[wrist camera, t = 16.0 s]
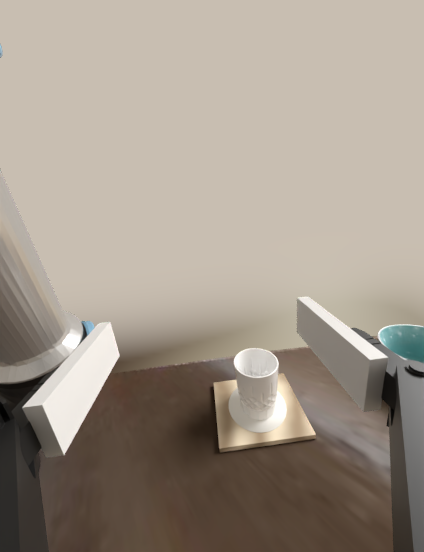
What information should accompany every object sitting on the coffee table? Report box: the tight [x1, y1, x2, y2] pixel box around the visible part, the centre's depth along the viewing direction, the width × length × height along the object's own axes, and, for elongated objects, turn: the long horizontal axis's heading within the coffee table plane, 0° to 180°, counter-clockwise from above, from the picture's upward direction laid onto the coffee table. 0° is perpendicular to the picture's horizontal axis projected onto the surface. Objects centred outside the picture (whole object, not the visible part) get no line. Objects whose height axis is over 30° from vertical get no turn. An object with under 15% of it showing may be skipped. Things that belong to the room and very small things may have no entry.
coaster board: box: [214, 373, 316, 452], centre depth 41 cm, size 16×14×1 cm
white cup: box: [234, 348, 278, 420], centre depth 40 cm, size 8×8×10 cm
